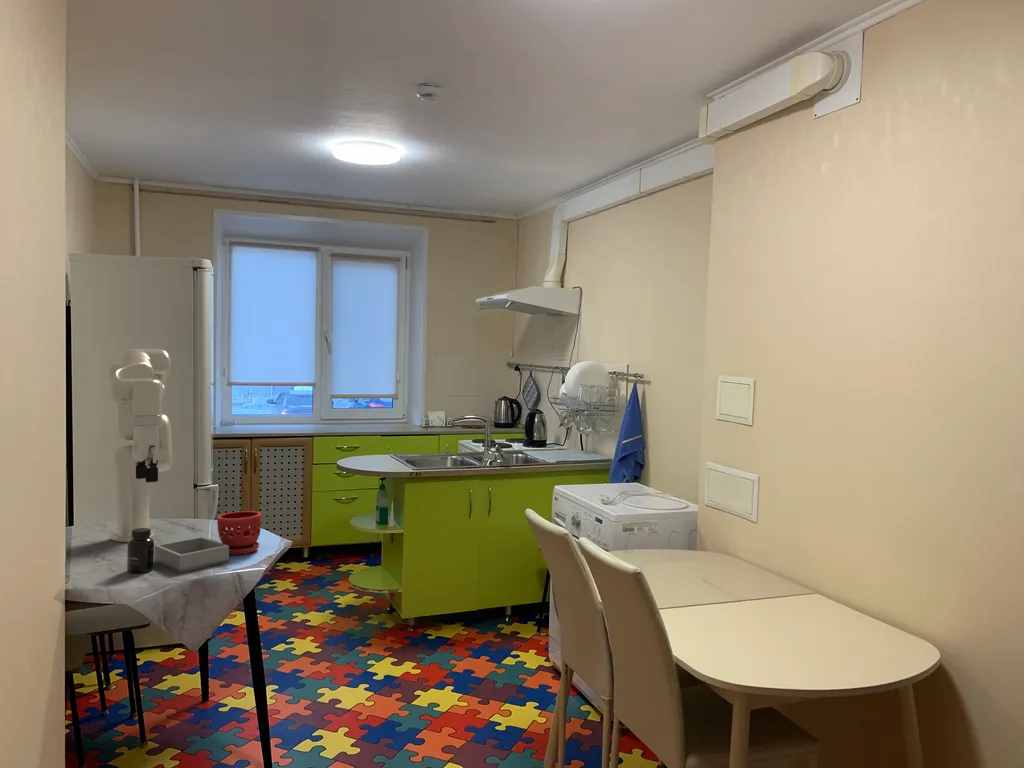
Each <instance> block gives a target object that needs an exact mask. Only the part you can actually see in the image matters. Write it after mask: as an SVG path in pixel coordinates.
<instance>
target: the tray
mask: <svg viewBox="0 0 1024 768" xmlns="http://www.w3.org/2000/svg"><path fill="white" fill-rule="evenodd" d="M225 562H227V563H230V554H229V546H228V545H225V544H223V543H222V542H221V541H220V542H219V541H217V540H214V539H211V538H208V537H206V536H199V537H194V538H193V537H192V538H188V539H182V540H177V541H173V542H171V541H170V542H165V543H160V544H154V563H155V564H158V565H161V566H163V567H165V568H167V569H169V570H172V571H174V572H175V573H179V574H181V573H186V572H190V571H195V570H200V569H205V568H209V567H212V566H213V565H214V566H218V565H221V563H223V564H226V563H225ZM217 564H218V565H217ZM208 566H209V567H208Z"/></svg>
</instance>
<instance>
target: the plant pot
mask: <svg viewBox="0 0 1024 768" xmlns="http://www.w3.org/2000/svg"><path fill="white" fill-rule="evenodd" d="M216 521H217V532H218V535H219V536H218V537H219V539H220V543H223V544H225V545H228V546H229V555H245V554H251V553H250V552H252V553H253V552H255V551H256V550H258V549H259V548H260V543H259V542H258V539H259V537H260V535H261V527H262V514H261V512H259V511H254V510H253V511H252V510H247V511H246V510H243V511H242V510H241V511H232V512H226V513H222V514H219V515H218V516H217V520H216Z"/></svg>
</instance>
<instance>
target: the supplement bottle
mask: <svg viewBox="0 0 1024 768" xmlns="http://www.w3.org/2000/svg"><path fill="white" fill-rule="evenodd" d="M151 531H152V530H151V528H150V527H149V528H138V529H134V530H132V539H131V540H129V542H127V550H126V551H127V552H126V554H127V559H126V562H127V563H126V564H127V565H126V571H127V572H128V573H129V574H133V575H141V573H142V574H148V573H149V572H152V571H153V570H154V566H155V565H154V564H155V562H154V545H155V540H154V539H153V537H152V538H150V536H151Z"/></svg>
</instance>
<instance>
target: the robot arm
mask: <svg viewBox="0 0 1024 768" xmlns="http://www.w3.org/2000/svg"><path fill="white" fill-rule="evenodd" d="M171 361H172V360H171V358H170V354H169V353H168V352H167V351H166V350H165V349H161V348H131V349H128V350H126V351H125V352H123V354H122V355H121V358H120V361H119V362H115V363H112V365H110V366H109V370H108V379H109V389H110V390H109V391H110V397H111V399H112V401H113V402H114V403H116V404H117V422H118V427H117V429H118V435H119V438H120V439H121V440H122V441H124V442H130V443H131V442H132V444H128V445H122V446H120V447H118V448H117V449H116V450H115V452H114V455H113V456H114V457H113V458H114V459H113V460H114V467H115V472H116V485H117V487H116V495H117V497H116V498H117V499H116V501H117V502H116V503H117V504H116V508H117V509H116V510H117V511H116V512H117V515H116V519H117V521H116V523H117V524H116V533H115V534H114V533H113V534H112V535H111V540H112V541H114V542H118V543H128V542H129V540H131V539H132V530H134V529H138V528H149V529H150V486H149V483H156V482H158V481H159V472H165V471H168V470H170V469H171V468H172V466H173V443H172V427H171V421H170V418H169V417H168V416H167V415H166V414H164V413H162V400H163V399H164V398H165V393H166V388H165V384H166V382H167V379H168V377H169V374H170V372H171V371H170V370H171V365H172V362H171ZM154 536H155V533H154V531H152V530H151V536H150V538H152V539H153V537H154Z"/></svg>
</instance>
